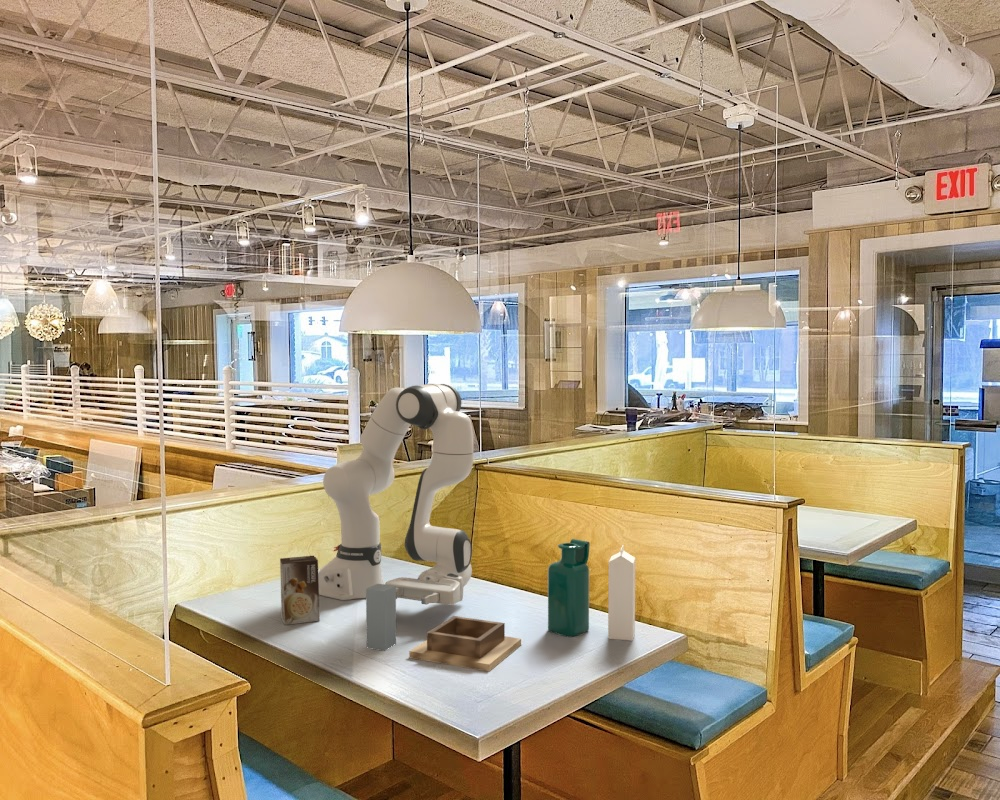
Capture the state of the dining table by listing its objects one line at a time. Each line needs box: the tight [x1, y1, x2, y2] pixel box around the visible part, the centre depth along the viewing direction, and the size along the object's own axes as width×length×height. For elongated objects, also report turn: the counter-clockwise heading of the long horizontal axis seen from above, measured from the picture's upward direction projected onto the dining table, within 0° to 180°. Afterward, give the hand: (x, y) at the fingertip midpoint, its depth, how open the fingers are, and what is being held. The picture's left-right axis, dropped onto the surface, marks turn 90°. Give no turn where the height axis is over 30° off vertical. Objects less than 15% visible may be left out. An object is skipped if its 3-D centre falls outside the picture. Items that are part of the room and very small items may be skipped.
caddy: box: [408, 615, 522, 672], centre depth 187 cm, size 20×18×6 cm
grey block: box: [365, 583, 397, 652], centre depth 190 cm, size 5×5×14 cm
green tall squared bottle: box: [547, 538, 590, 638], centre depth 201 cm, size 10×8×22 cm
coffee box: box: [279, 555, 321, 626], centre depth 210 cm, size 9×6×16 cm
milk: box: [607, 545, 636, 641], centre depth 197 cm, size 6×6×22 cm
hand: (407, 598), depth 201 cm, fingers open, 8 cm apart
